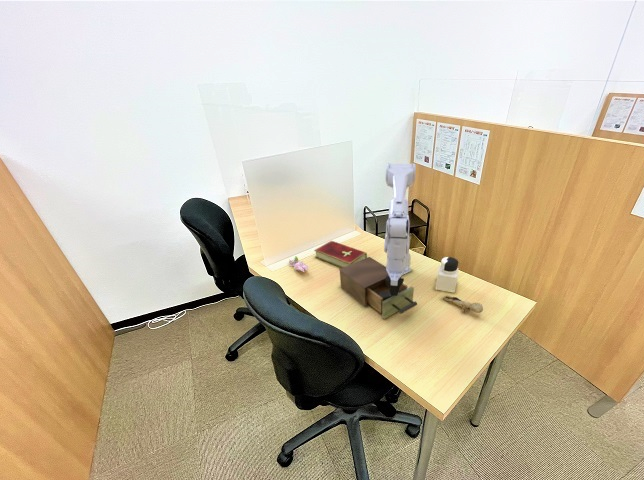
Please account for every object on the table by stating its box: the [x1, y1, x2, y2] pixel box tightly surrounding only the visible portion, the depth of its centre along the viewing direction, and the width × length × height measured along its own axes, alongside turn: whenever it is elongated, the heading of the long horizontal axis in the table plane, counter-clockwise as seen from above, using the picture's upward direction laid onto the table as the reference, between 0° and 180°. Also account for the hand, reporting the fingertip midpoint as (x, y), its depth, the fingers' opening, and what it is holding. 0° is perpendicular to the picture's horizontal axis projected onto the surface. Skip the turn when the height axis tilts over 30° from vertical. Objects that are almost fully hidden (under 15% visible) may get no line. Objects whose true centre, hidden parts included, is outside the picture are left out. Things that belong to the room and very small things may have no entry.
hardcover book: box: [314, 240, 368, 269], centre depth 131 cm, size 12×21×4 cm, turn 52°
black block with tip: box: [378, 291, 393, 301], centre depth 102 cm, size 8×3×3 cm, turn 105°
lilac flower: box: [289, 255, 309, 273], centre depth 124 cm, size 6×6×15 cm
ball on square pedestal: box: [435, 256, 459, 294], centre depth 109 cm, size 7×7×12 cm
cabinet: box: [339, 256, 389, 308], centre depth 110 cm, size 16×15×9 cm
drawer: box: [366, 280, 418, 320], centre depth 101 cm, size 19×13×7 cm
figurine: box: [442, 295, 484, 314], centre depth 100 cm, size 4×4×15 cm
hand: (394, 290), depth 96 cm, fingers open, 4 cm apart
